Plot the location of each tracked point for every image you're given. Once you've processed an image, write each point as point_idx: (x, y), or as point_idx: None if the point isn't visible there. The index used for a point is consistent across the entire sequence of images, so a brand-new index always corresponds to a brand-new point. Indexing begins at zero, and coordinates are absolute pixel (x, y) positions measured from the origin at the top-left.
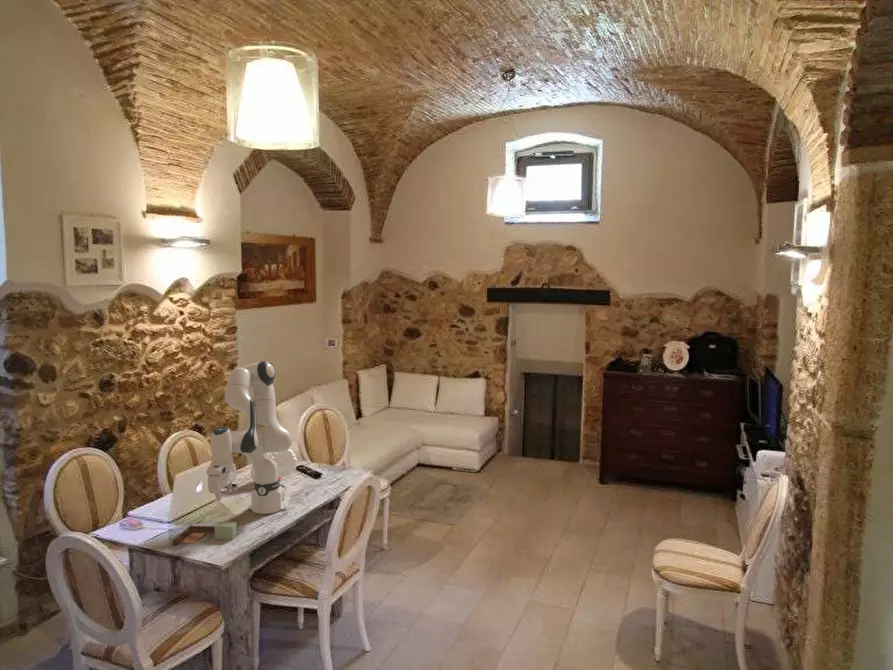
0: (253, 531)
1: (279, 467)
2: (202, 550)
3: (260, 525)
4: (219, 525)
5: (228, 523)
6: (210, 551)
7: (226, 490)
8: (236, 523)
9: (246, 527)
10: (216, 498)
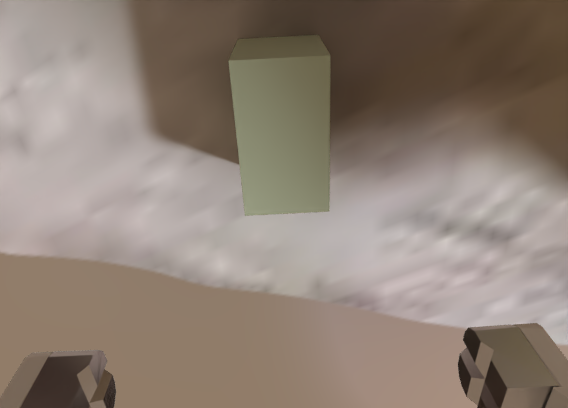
0: (382, 232)
1: None
2: (38, 43)
3: (473, 234)
4: (251, 101)
5: (303, 159)
6: (49, 110)
7: (489, 370)
8: (325, 207)
9: (448, 166)
10: (12, 385)
